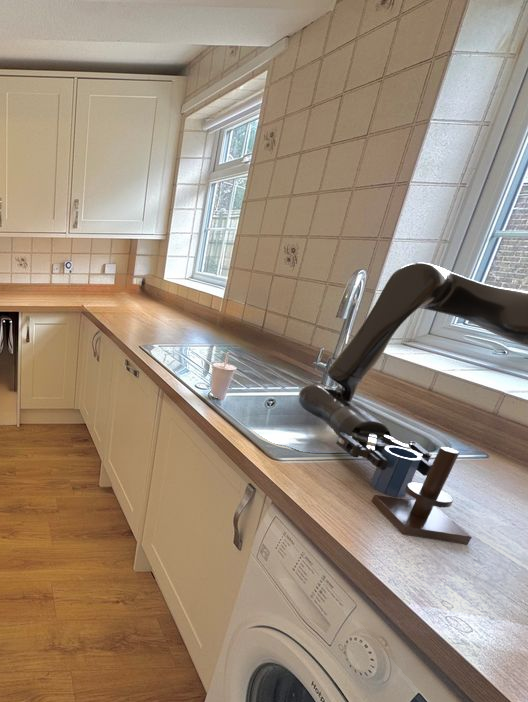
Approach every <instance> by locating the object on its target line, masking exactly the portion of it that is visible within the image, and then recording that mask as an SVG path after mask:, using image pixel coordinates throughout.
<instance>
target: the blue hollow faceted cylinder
mask: <svg viewBox="0 0 528 702" xmlns="http://www.w3.org/2000/svg"><path fill="white" fill-rule="evenodd" d="M382 455H383V456H384V457H385V458H386V459H387V460H388V465H387V467H386V469H385V470H380V469H378V468H377V467H376V466H375V470H374V471H373V472H374V473H373V475H372V477H371V479H370V482H369V485H370V486H371V487H372V488H373V489H374V490H376V491H378V492H380V493H382V494H384V495H386V496H390V497H395V498H404V497H406V495H407V492H406V490H405V489H406V487H407V485H408V483H412V482H413V479H414V477H415V474H416V472H417V468H418V465H419V463H420V461H421V459H422V457H421V456H420V455H418V454H417V453H415V452H413V451H411V450H408V449H405V448H401V447H397V446H385V448H384V450H383V452H382Z"/></svg>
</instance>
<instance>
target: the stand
mask: <svg viewBox="0 0 528 702" xmlns="http://www.w3.org/2000/svg"><path fill="white" fill-rule="evenodd" d="M459 455H460V451H459V450H456V449H454V448H452V447H448V446H440V447H439V449H438V451H437V453H436V455H435V458H434V459H433V462H432V463H431V465H432V466H431V468H430V470H429V473H428V475H427V476H425V479H424V482H415V481H411V483H408V485H407V487H406V489H405V490H406V494H407V495H409V496H410V498H413V499H408V498H403V497H394V496H389V495H381V494H373V495H372V498H371V502H372V504H373V505H374V506H375V507H376V508H377V509H378V510H379V511H380V512H381V513H382V514H383V516H385V517H386V519H388V521H389V522H390V523H392V525H393V526H394V527H395V528H396V529H397V531H399V532H400V533H401V534H402V535H404V536H405V535H407V536H412V537H419V538H425V539H431V540H432V539H433V540H438V541H443V542H451V543H457V544H462V545H469V543H470V541H471V539H472V536H471V535H470V534H469V533H468V532H467V531H465V530H464V529H463V528H462V527H461V526H460V525H458V524H457V523H456V522H455V521H454V520H453V519H451V518H450V517H449V516H448V515H447V514H446V513H444V512H443V511H442V510H441V509H440V508H444V509H445V508H446V509H447V508H449V507H451V506H452V505H453V502H454V498H453V497H452V495H450V494H449V493H447V491H444V490H443V488H444V485H445V484H446V481H447V480H448V478H449V475H450V473H451V472H452V469H453V467H454V465H455V463H456V461H457V459H458V457H459Z"/></svg>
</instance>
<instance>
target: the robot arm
mask: <svg viewBox="0 0 528 702" xmlns="http://www.w3.org/2000/svg"><path fill="white" fill-rule="evenodd" d="M418 309H421V310H428V311H432V312H436V313H439V314H443V315H448V316H452V317H455V318H458V319H462V320H465V321H468V322H470V323H472V324H474V325H476V326H478V327H480V328H482V329H483V330H486V331H488V332H490V333H492V334H494V335H496V336H499V337H501V338H503V339H505V340H508V341H510V342H513V343H516V344H518V345H521V346H524V347H527V348H528V291H525V290H518V289H511V288H504V287H498V286H494V285H490V284H485V283H483V282H479V281H477V280H474V279H470V278H468V277H465V276H463V275H461V274H460V275H459V274H457V273H454V272H452V271H450V270H447V269H446V268H443V267H440V266H439V265H438V266H437V265H434V264H432V263H427V262H412V263H409V264H406V265H403V266H401V267H400V268H398V269H397V270H395V271H394V272H393V273H392V274H391V275H390V277H389V278H388V280H387V281H386V283H385V285H384V287H383V288H382V289H381V292H380V294H379V296H378V298H377V300H376V302H375V304H374V305H373V307H372V308H371V310H370V312H369V313H368V315H367V317H366V318H365V319H364V321H363V323H362V324H361V326H360V327H359V328H358V330H357V331H356V333H355V334H354V335H353V337H352V338H351V339H350V341H349V342H348V343H347V344H346V346H345V347H344V348H343V349H342V351H341V352H340V353H339V354H338V355H337V357H336V358H335V360H334V361H333V362H332V363H331V365H330V366H329V367H328V369H327V371H326V376H327V377H328V378H329V379H330V380H332V382H333V381H334V382H335V383H337V387H336V388H335V389H334V388H331V387H329V386H326V385H323V384H319V383H309V384H307V385H305V386H304V387H302V388H301V389H300V390H299V392H298V402H299V405H300V407H302V408H303V409H304V410H305V411H307V412H308V413H310V414H311V415H313V416H315V417H317V418H318V419H320V420H322V421H323V422H324V423H325V424H326V425H328V427H329V428H331V429H332V430H333V432H334V433H335V434H336V435H337V439H336V445H337V446H338V447H339V448H341V449H342V450H343V451H344V452H346V453H347V454H348V455H349V456H351V457H353V458H359V457H362V459H363V460H365V461H368V462H369V463H371V464H372V465H373V466H375V468H376V467H377V468H378V469H380V470H385V469H386V467H387V465H388V460H387V459H386V458H385V457H384V456H383V455H382V452H383V450H384V448H385V446H397V447H401V448H405V449H408V450H411V451H413V452H415V453H417V454H418V455H420V456H421V457H422V459H421V461H420V463H419V465H418V468H417V470H416V472H419V473H420V474H421V475H422V476H425V477H427V475H428V473H429V470H430V468H431V466H432V463H430V462H429V461H430V459H431V457H432V454H431V453H430V452H429V451H428V450H427V449H425V448H424V447H423V446H422V445H421V444H420V443H418V442H416V441H413V440H409V442H408V443H403V442H401V441H400V440H399V439H397V438H394V437H393V436H392V434H391V432H390V430H389V428H388V426H387V425H386V424H384V423H383V422H381V421H380V420H378V419H377V418H376V417H374V416H373V415H372V414H370V413H368V412H367V411H366V410H364V409H361V408H360V407H358V406H357V405H356V404H354V403H353V402H352V401H353V398H354V396H355V393H356V392H357V389H358V387H359V385H360V383H361V382H362V381H363V380H364V378H365V377H366V376H367V375H368V374H369V373H370V371H372V369H373V368H374V367H375V365H376V364H377V363H378V362H379V360H380V359H381V358H382V355H383V354H384V353H385V351H386V349H387V347H388V345H389V343H390V341H391V340H392V338H393V336H394V335H395V334H396V332H397V330H398V329H399V328H400V327H401V326H402V324H403V323H404V322H405V321H406V320H407V319H408V318H409V317H410V316H411V315H413V314H414V313H415V312H416V311H418Z"/></svg>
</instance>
